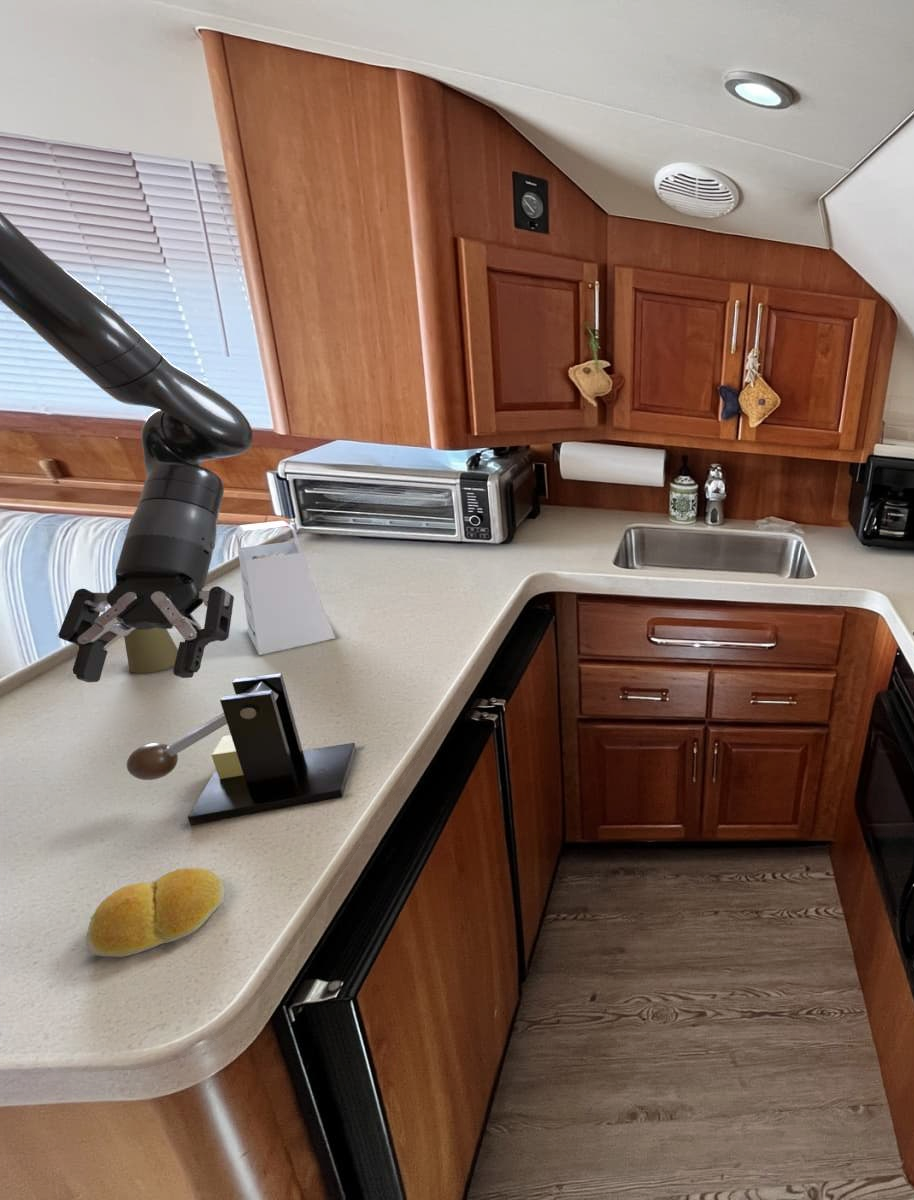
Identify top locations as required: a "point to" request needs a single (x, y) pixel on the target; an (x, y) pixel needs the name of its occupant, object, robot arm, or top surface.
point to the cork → (150, 650)
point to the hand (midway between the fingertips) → (135, 678)
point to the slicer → (270, 758)
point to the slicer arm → (174, 747)
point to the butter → (226, 759)
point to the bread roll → (154, 912)
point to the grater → (280, 595)
